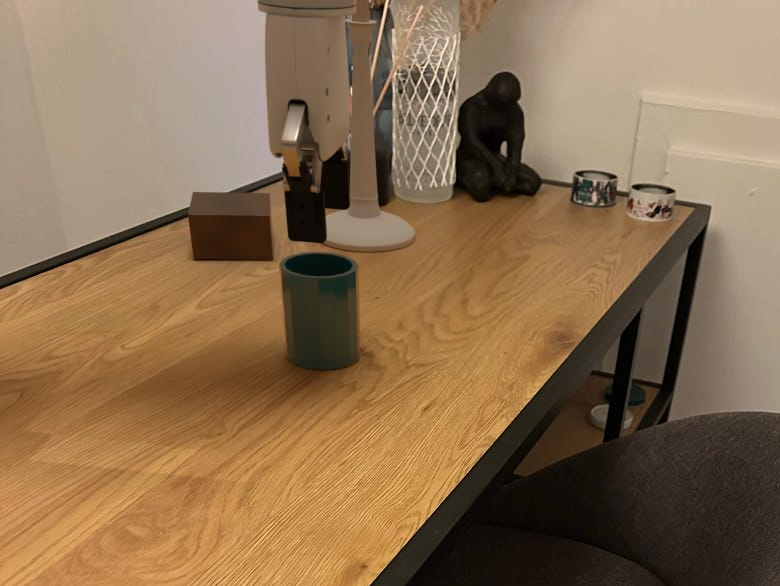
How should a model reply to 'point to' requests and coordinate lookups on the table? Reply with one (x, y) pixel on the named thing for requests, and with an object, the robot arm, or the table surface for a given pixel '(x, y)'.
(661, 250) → the table surface
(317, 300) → the cup
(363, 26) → the candlestick
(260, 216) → the block
